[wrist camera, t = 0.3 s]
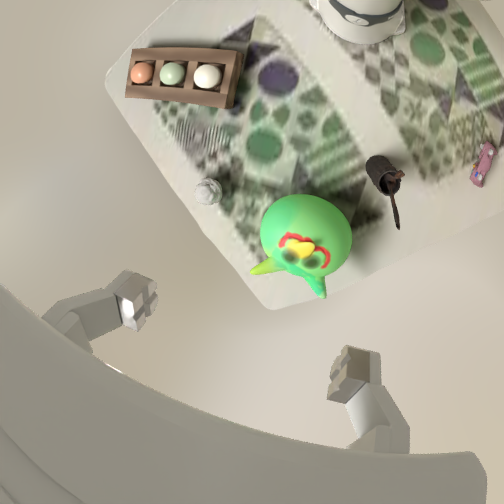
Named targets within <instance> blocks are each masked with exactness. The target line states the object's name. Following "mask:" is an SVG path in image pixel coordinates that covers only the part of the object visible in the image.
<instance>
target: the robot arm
mask: <svg viewBox="0 0 504 504" xmlns="http://www.w3.org/2000/svg"><path fill="white" fill-rule="evenodd" d="M482 1H486V0H482ZM309 3H310V5H311V6H312V7H313V8H314V9H315V10H316V11H317V12H319V13H320V15H321V16H322V18H323V20H324V22H325V24H326V25H327V26H328V28H329V29H330V30H331V31H332V32H334V33H335V34H336V35H338V36H339V37H341V38H343V39H345V40H347V41H350V42H353V43H357V44H375V43H379V42H381V41H383V40H385V39H386V38H388V37H389V36H392V35H399V34H403V33H404V32H405V13H404V2H403V0H310V1H309ZM400 24H401V25H400ZM156 289H157V283H156V282H155V281H154V280H152V279H149V278H147V277H145V276H143V275H140V274H138V273H135V272H133V271H131V270H129V269H126V270H124V271H123V272H122V273H121V274H119V275H118V276H117V277H116V278H115V279H114V280H113V281H112V282H111V283H110V284H109V285H108V286H107V287H106V288H105V289H102V288H100V289H97V290H93V291H90V292H87V293H83V294H80V295H77V296H74V297H70V298H67V299H64V300H60V301H58V302H57V303H56V304H55V305H54V306H53V307H51V309H49V310H48V311H47V312H46V314H44V315H43V316H42V317H39V316H38V315H37V314H36V313H34V312H33V311H32V310H31V309H30V308H29V307H27V306H26V305H25V304H24V303H23V302H22V301H21V300H19V299H18V298H17V297H16V296H15V295H14V294H13V293H12V292H11V291H9V289H8V288H6V287H5V286H4V285H3V284H1V283H0V504H485V503H486V492H487V476H486V472H485V470H484V468H483V466H482V464H481V463H480V461H479V459H478V458H477V456H476V455H475V454H474V453H472V452H456V453H441V454H409V447H410V428H409V425H408V424H407V422H406V421H405V419H404V417H403V415H402V414H401V412H400V411H399V409H398V407H397V406H396V404H395V402H394V401H393V399H392V397H391V396H390V394H389V393H388V391H387V389H386V388H385V386H382V385H381V360H380V354H379V353H377V352H373V351H369V350H365V349H361V348H356V347H353V346H349V345H346V346H344V347H343V349H342V350H341V355H340V356H338V357H337V358H336V359H335V361H334V363H333V365H332V368H331V372H330V379H331V380H332V383H331V384H330V385H329V387H328V394H327V400H332V401H336V402H340V403H344V404H345V406H346V409H347V411H348V414H349V416H350V419H351V421H352V424H353V426H354V428H355V431H356V434H357V437H358V440H356V441H355V442H353V443H352V444H350V445H348V446H347V447H346V449H343V448H336V447H329V446H324V445H318V444H313V443H308V442H303V441H299V440H294V439H290V438H286V437H282V436H278V435H274V434H270V433H267V432H263V431H260V430H256V429H253V428H249V427H247V426H243V425H240V424H237V423H234V422H231V421H228V420H226V419H223V418H220V417H217V416H215V415H212V414H209V413H207V412H204V411H202V410H199V409H197V408H194V407H192V406H189V405H187V404H185V403H182V402H180V401H178V400H175V399H173V398H171V397H169V396H167V395H165V394H163V393H161V392H158V391H156V390H154V389H152V388H150V387H148V386H146V385H144V384H142V383H141V382H139V381H137V380H135V379H133V378H131V377H129V376H127V375H126V374H124V373H122V372H120V371H119V370H117V369H115V368H113V367H112V366H110V365H108V364H107V363H105V362H103V361H102V360H100V359H99V358H97V357H95V356H94V355H92V353H93V350H92V347H91V345H90V343H89V341H91V340H93V339H95V338H97V337H99V336H101V335H104V334H106V333H108V332H110V331H112V330H114V329H116V328H118V327H120V326H122V325H124V326H126V327H128V328H130V329H133V330H135V331H137V332H138V331H139V330H140V329H141V327H142V326H143V325H144V324H145V322H146V317H148V316H150V315H152V313H153V312H154V311H155V308H156V306H157V302H158V296H157V294H156V292H155V290H156Z"/></svg>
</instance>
